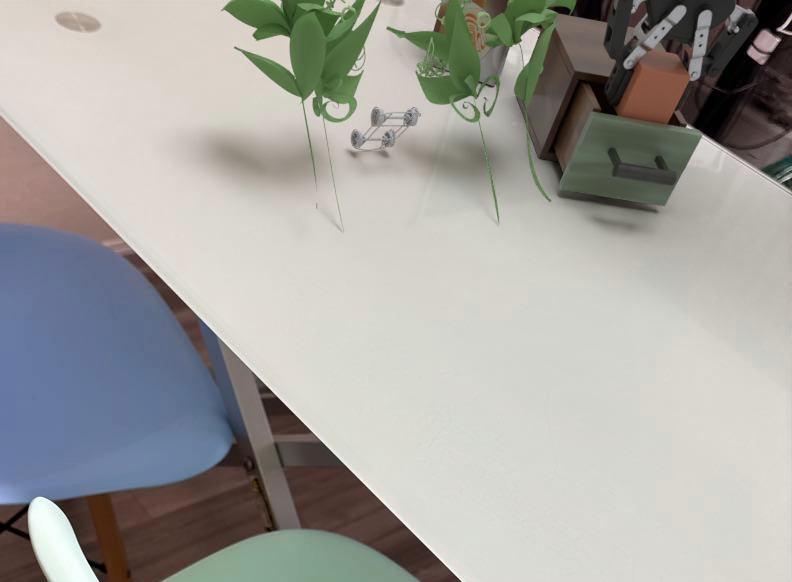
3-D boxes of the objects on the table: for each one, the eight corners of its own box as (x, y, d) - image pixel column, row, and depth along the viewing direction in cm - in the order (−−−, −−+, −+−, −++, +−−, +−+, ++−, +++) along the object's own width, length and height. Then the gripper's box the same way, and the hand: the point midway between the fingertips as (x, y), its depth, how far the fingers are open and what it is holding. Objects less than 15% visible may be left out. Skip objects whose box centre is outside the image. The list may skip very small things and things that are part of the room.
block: (653, 103, 101) (677, 53, 97) (666, 126, 97) (691, 76, 94) (607, 95, 100) (629, 45, 96) (618, 118, 97) (642, 67, 93)
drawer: (676, 230, 99) (716, 159, 94) (570, 213, 98) (604, 139, 92) (632, 142, 111) (666, 73, 105) (537, 125, 110) (565, 55, 104)
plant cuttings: (526, 251, 107) (496, 49, 107) (634, 189, 91) (598, -48, 91) (223, 266, 96) (190, 41, 96) (284, 199, 79) (244, -72, 80)
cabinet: (646, 176, 108) (690, 91, 101) (538, 158, 107) (574, 70, 99) (616, 113, 118) (653, 31, 110) (515, 95, 116) (547, 11, 109)
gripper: (662, -82, 82) (578, 113, 95) (818, -50, 84) (715, 137, 97) (639, -111, 87) (562, 78, 100) (788, -81, 89) (693, 101, 102)
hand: (638, 106), depth 98 cm, fingers closed on block, 5 cm apart
